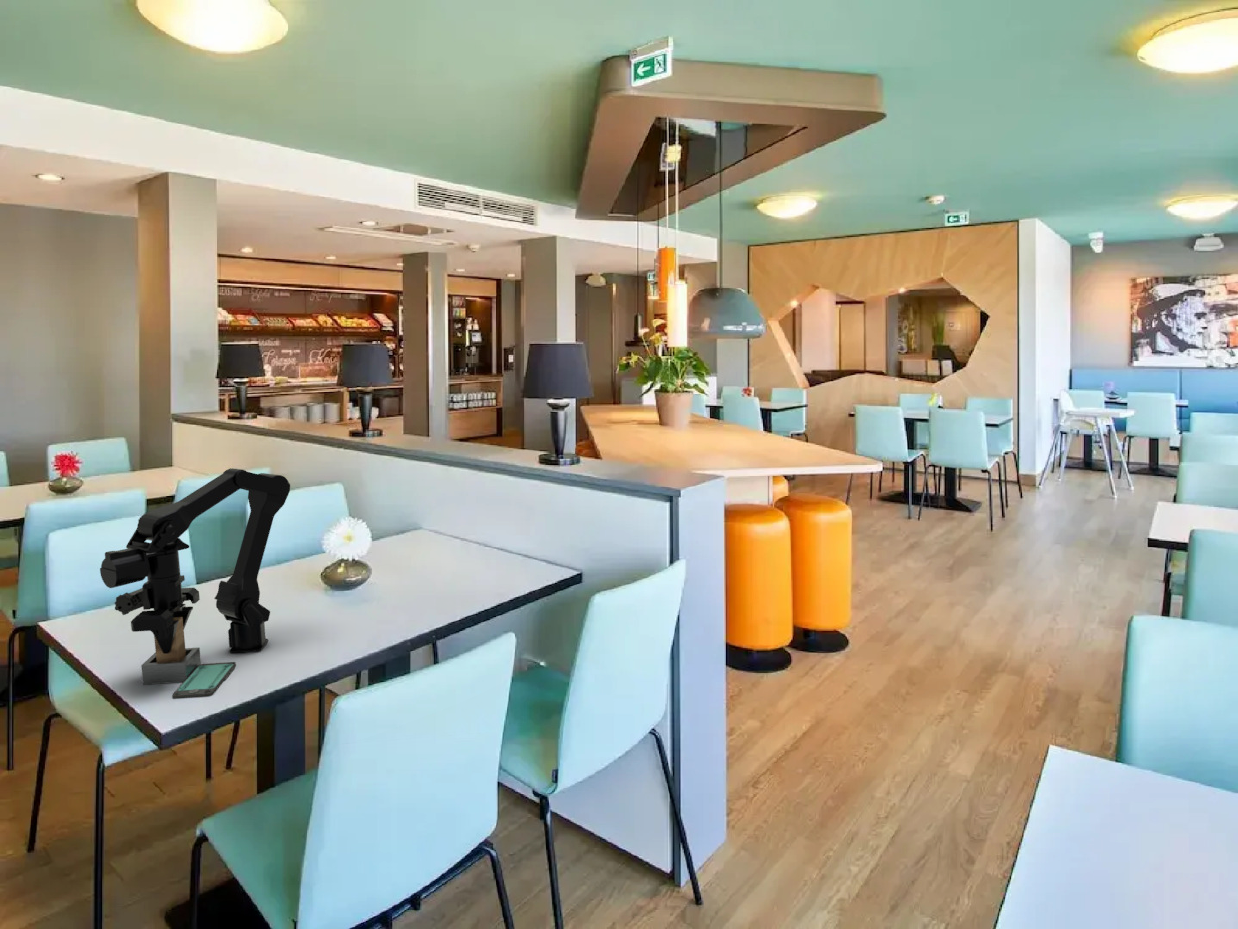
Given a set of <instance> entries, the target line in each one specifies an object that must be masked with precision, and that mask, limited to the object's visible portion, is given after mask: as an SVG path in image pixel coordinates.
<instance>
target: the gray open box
mask: <svg viewBox="0 0 1238 929" xmlns="http://www.w3.org/2000/svg"><path fill="white" fill-rule="evenodd" d="M185 650H186V657H185V658H184V659H183V660H182V661H173V662H158V663H157V660H156V651H155V652H154V653H153V654H152V655H151V656H150V657H149V658H148V659H147V660H145V661H144V662H143V663H142V664H141V667H140V668H141V675H142V677H141V678H142V685H143V686H144V685H158V684H171V683H183V682H184V681H185V680H186V679H187V678H188V677H189V676H190V675H191V673H192V672H193V671H194V670H195V669H196V668H197V667H198V666H199V665H200V664H202V660H201V651H200V650H201V649H200V647H185Z"/></svg>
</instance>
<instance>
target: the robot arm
mask: <svg viewBox="0 0 1238 929" xmlns="http://www.w3.org/2000/svg"><path fill="white" fill-rule="evenodd" d="M239 490H243V491H246V492H247V493H248V495H247V500H248V504H249V509H250V513H249V516H248V519H247V524H246V528H245V531H244V535H243V538H242V540H241V541H242V542H241V545H240V549H239V552H238V555H237V559H236V563H235V567H234V569H233V573H232V575H231V576H230V578H229V579H228V580H227V581H225V580H224V581H223V580H220V581H219V584H218V590H217V593H216V595H215V596H214V600H216V603H215V605H216V609H217V611H218V612H219V613H220V614H222V615H223V617H224V619H225V620H226V621H228V622H229V621H230V623H229V624H230V625H229V627H230V628H229V629H227V630H228V631H227V633H228V634H227V636H228V645H229V648H230V649H229V653H230V654H235V653H237V654H238V653H250V652H261V651H262V650H263V649H264V647H265V646H266V644H267V643H268V642H269V638H266V627H265V622H268V621H269V619H270V615H271V611H270V610H269V609H267V608H266V607H265V606H263V605H262V604H260V594H261V591H260V586H259V583H258V578H259V572H260V570H261V565H262V560H263V557H264V554H265V551H266V547H267V544H268V539H269V536H270V532H271V529H272V525H273V522H274V518H275V515H276V514H277V513H278V512H279V511H280V510H281V508H283V506H284V505H285V503H286V501H287V499H288V496H289V493H290V491H291V483H289V480H288V479H287V478H286V477H285V476H284V475H283V474H282V475H281V474H273V473H272V474H271V473H265V472H260V473H254V472H249V471H246V469H241V468H228V469H225V471H223V472H222V473H221V474H220V475H218V476H217V477H215V478H213V479H212V480H210V481H209V482H207V483H206V484H204V485H202V486H200V487H199V488H197V489H196V490H194V491H193V492H191V493H189V494H188V495H187V496H185V497H183V498H182V499H180V500H179V501H176V502H174V503H171V504H168V505H164V506H159V507H157V508H155V509H153V510H150V511H147V512H146V513H143V514H142V515H141V516H140V517H139V518H138V522H137V528H136V529H135V530H134V532H133V534H132V536H131V537H130V539H129V541H128V543H127V544H126V546H125V548H124V549H120V550H110V551H106V552H105V553H104V559H103V560H102V561H101V564H100V568H99V573H100V577H101V579H102V582H103V584H104V585H105V586H106V587H107V588H109V589H113V588H118V587H122V586H125V585H126V586H127V585H130V584H133V583H137V582H141V581H144V580H145V579H147V581H146V582H144V583H143V585H142V588H139V589H136V590H134V591H131V592H125V593H123V594H119V595H118V596H115V601H114V605H115V606H114V610H115V611H118V612H120V613H121V614H122V616H126V615H128V614H130V612H133V611H136V610H138V609H141V608H143V610H142V611H141V612H140V613H138V614H137V615H136V616H135V617H133V619H132V620H131V621H130V628H131V629H130V630H131V631H132V632H135V633H136V632H148V631H149V632H151V633H152V634H153V636H155V638H156V640H157V642H158V644H159V646H160V648H161V650H162V652H163V653H164V654H168V653H170V650H171V647H172V644H173V640H174V636H175V633H176V629H177V625H178V622H179V620H173V617H183V628H184V629H185V628H186V625H187V623H188V620H189V618H190V616H191V613H192V611H193V609H194V606H186V603H185V601H190V603H191V604H197V603H198V602H199V601H200V600H201V599H200V591H199V590H198V589H196V588H195V587H182V583H183V582H185V580H186V578H185V575H184V574H183V575H181V567H180V566H181V565H180V556H179V552H180V551H182V550H188V549H189V548H190V545H189V544H188V543H186V542H184V541H183V540H182V539H181V538H180V537H181V536H182V535H183V534H184V533H185V532H187V530H189V528H190V526H191V524H192V523H193V521H194V520H195V519H196V518H198V517H199V516H202V515H203V514H204V513H206V512H207V511H208V510H210V509H211V508H214V507H215V506H216V505H217V504H219V503H220V502H222V501H225V499H227V498H229V497H230V496H231V495H233V494H235V493H236V492H237V491H239ZM147 541H151V542H147ZM146 577H147V578H146ZM152 609H153V610H152Z"/></svg>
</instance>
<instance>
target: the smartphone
mask: <svg viewBox="0 0 1238 929" xmlns="http://www.w3.org/2000/svg"><path fill="white" fill-rule="evenodd" d="M236 667H237V663H236V661H227V662H226V661H225V662H213V663H212V662H211V663H201V664H200V665H199V666H198V667H197V668H196V669H195V670H194V671H193V672H192V673H191V675H190V676H189V677H188V678H187V679H186V680H185V681H184V682H181V684H180V685H179V687H177V689H176V690H175V691H174V692H173V693H172V694H171V697H172V699H173V700H175V699H190V698H191V699H193V698H205V697H206V698H207V697H212V696H213V695H214V694H215V693H216V691H217V690H218V689H219V688H220V687H221V685H223V683H224V682H226V681H227V678H229V676H230V675H231V674H232V672H233V671H234V670H235V669H236Z"/></svg>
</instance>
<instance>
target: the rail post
mask: <svg viewBox="0 0 1238 929" xmlns="http://www.w3.org/2000/svg"><path fill="white" fill-rule="evenodd" d="M173 620H179V622H178V625H177V629H176V633H175V636H174V640H173V644H172V647H171V650H170V653H168V654H164V653H163V652H162V650H161V648H160V646H159V644H158V642H157V640H156V638H155V636H154V635H153V636H154V637H153V638H154V647H155V648H154V651H155V652H156V660H157V663H158V662H173V661H182V660H183V659H184V658H185V657H186V650H185V648H186V640H185V628H183V617H173Z"/></svg>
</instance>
